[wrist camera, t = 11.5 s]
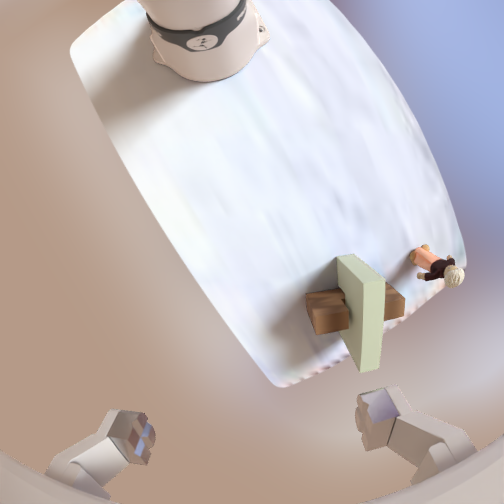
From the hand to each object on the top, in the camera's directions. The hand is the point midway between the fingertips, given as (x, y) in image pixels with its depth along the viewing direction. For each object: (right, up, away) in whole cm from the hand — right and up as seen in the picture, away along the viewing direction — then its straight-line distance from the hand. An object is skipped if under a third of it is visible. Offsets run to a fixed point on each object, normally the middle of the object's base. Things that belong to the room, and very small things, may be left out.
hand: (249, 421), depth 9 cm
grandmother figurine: (+29, +6, +34) cm, 45 cm away
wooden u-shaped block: (+16, -1, +35) cm, 39 cm away
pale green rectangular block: (+16, -1, +35) cm, 39 cm away
